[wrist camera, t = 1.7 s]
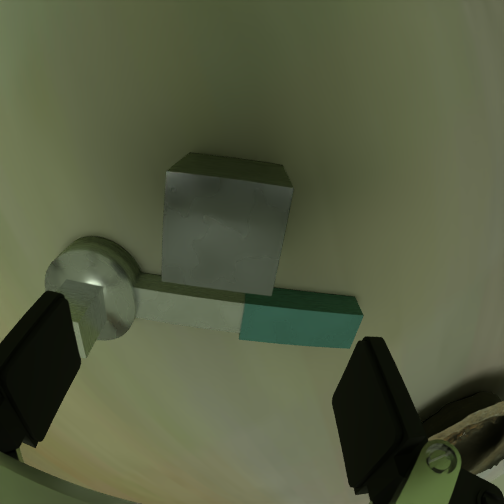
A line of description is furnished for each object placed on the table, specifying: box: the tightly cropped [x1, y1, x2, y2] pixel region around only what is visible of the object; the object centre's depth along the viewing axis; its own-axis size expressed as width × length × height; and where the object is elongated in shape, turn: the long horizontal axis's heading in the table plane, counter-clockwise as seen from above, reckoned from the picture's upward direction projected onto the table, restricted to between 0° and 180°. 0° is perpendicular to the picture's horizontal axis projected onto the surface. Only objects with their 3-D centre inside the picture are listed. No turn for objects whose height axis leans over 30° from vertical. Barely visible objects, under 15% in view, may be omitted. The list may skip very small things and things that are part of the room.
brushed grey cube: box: [162, 153, 294, 296], centre depth 19 cm, size 6×6×6 cm
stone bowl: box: [422, 392, 504, 475], centre depth 33 cm, size 25×25×9 cm
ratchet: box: [45, 236, 364, 358], centre depth 22 cm, size 8×25×7 cm, turn 81°
